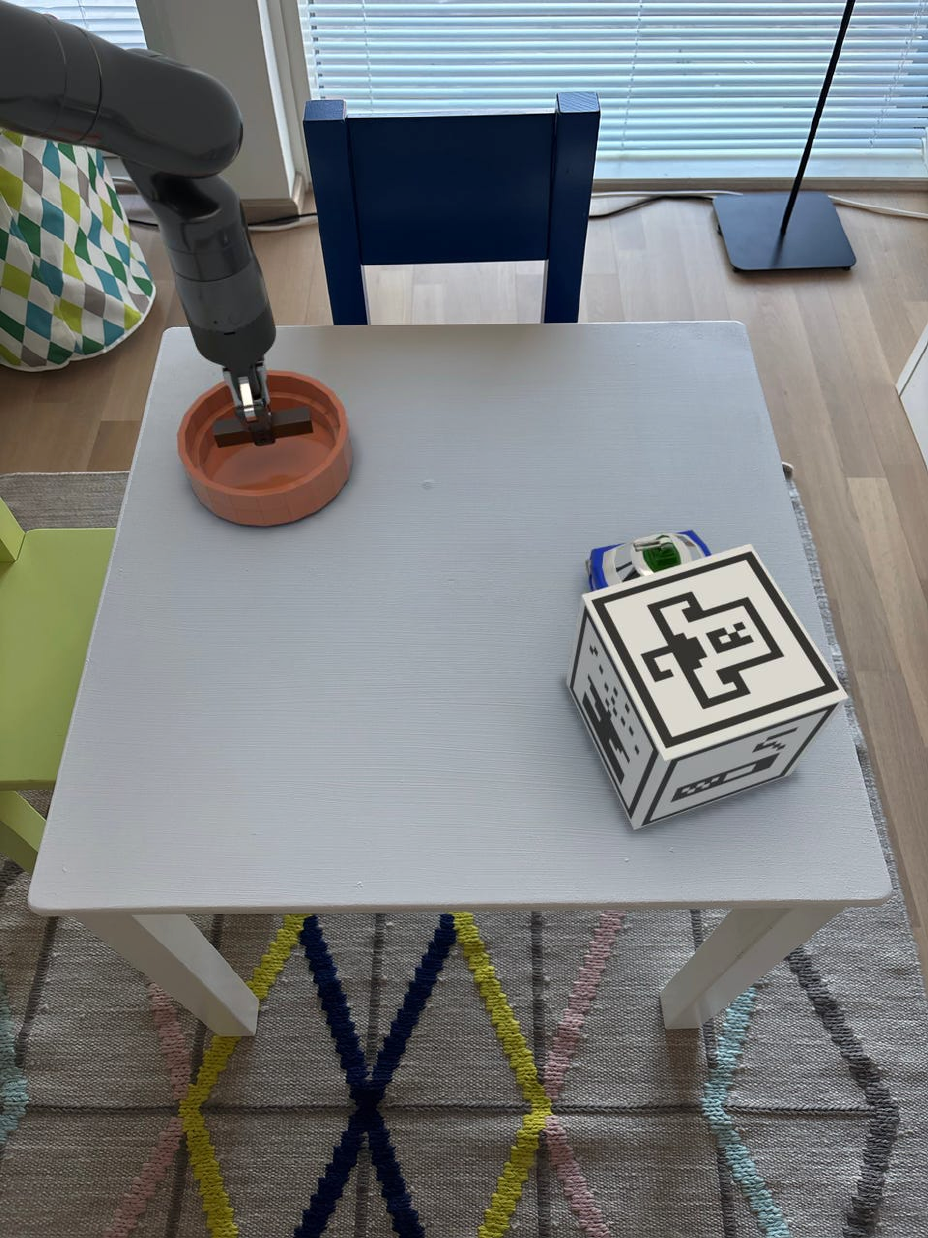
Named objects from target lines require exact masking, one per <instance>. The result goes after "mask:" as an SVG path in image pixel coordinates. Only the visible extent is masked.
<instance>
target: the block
mask: <svg viewBox="0 0 928 1238" xmlns="http://www.w3.org/2000/svg"><path fill="white" fill-rule="evenodd" d="M576 619H577V620H576V626H575V631H574V637H573V643H572V648H571V654H570V660H569V663H568V664H569V665H568V671H567V675H566V676H567V677H566V682H565V683H566V686H567V688H568V690H569V693H570V695H571V697H572V699H573V701H574V703H575V705H576V708H577V710H578V712H579V714H580V716H581V718H582V721H583V723H584V725H585V727H586V729H587V732H588V733H589V736H590V738H591V740H592V742H593V744H594V746H595V749H596V751H597V753H598V755H599V757H600V760H601V762H602V765H603V766H604V768H605V771H606V772H607V773H606V774H607V775H608V777H609V779H610V781H611V783H612V786H613V788H614V790H615V791H616V794H617V796H618V799H619V801H620V803H621V805H622V807H623V809H624V812H625V814H626V816H627V818H628V820H629V822H630V825H631V827H632V829H633V831H635V830H639V829H641V828H645V827H647V826H650V825H653V824H656V823H658V822H662V821H664V820H667V819H669V818H672V817H675V816H678V815H681V814H683V813H686V812H690V811H692V810H695V809H698V808H702V807H704V806H707V805H709V804H712V803H715V802H717V801H721V800H723V799H726V798H729V797H732V796H734V795H735V796H736V795H737V794H740V793H742V792H743V793H744V792H745V791H748V790H752V789H754V788H757V787H760V786H763V785H766V784H769V783H771V782H775V781H777V780H779V779H783V778H785V777H788V776H791V774H793V772H794V771H795V769H796V768H797V766H798V765H799V764H800V763H801V761H802V760H803V759H804V757H805V756H806V755H807V753H808V752H809V751H810V749H812V747H813V746H814V744H815V743H816V742H817V740H818V739H819V738H820V736H821V735H822V734H823V732H825V730H826V729H827V727H828V726H829V725H830V723H831V722H832V721H833V719H835V717H836V715H837V714H838V713H839V712H840V711H841V709H842V707H843V706H844V705H845V704H846V703H847V701H848V700H849V699H850V697H849V695H848V694H847V692H846V691H845V688H844V687H843V686H842V684H841V683H840V681H839V680H838V679H837V678H838V677H836V675H835V673H834V672H833V670H832V669H831V667H830V665H829V664H828V662H827V661H826V659H825V658H824V656H823V655H822V653H821V652H820V649H818V647H817V645H816V644H815V642H814V640H813V639H812V637H811V636H810V634H809V633H808V631H807V630H806V628H805V627H804V625H803V623H802V622H801V620H800V618H799V617H798V616H797V614H796V612H795V611H794V610H793V608H792V606H791V604H790V603H789V602H788V600H787V598H786V597H785V595H784V594H783V592H782V591H781V589H780V587H779V586H778V584H777V583H776V581H775V580H774V578H773V577H772V575H771V574H770V572H769V570H768V568H767V567H766V565H765V564H764V562H763V561H762V559H761V558H760V557H759V555H758V553H757V551H756V550H755V549H754V547H753V545H752V544H751V543H747V544H744V545H741V546H738V547H734V548H731V549H728V550H725V551H721V552H718V553H715V554H712V555H711V556H708V557H705V558H701V559H698V560H695V561H692V562H688V563H685V564H682V565H678V566H675V567H672V568H669V569H665V570H662V571H659V572H656V573H652V574H649V575H646V576H642V577H639V578H636V579H633V580H629V581H626V582H623V583H620V584H616V585H613V586H610V587H606V588H603V589H600V590H597V591H593V592H591V591H589V592H587V593H584V594H581V597H580V603H579V608H578V615H577V618H576Z"/></svg>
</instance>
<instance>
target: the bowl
mask: <svg viewBox="0 0 928 1238" xmlns="http://www.w3.org/2000/svg"><path fill="white" fill-rule="evenodd" d="M266 372H267V381H266V382H267V386H268V390H269V395H270V403H269V406H270V410H271V412H275V411H281V410H287V409H294V408H300V407H306V406H308V407H309V410H310V415H311V419H312V426H313V433H310V434H304V435H297V436H291V437H285V438H279V439H275V440H276V442H275V443H274V444H271V445H265V446H256V445H255V444H254V443H248V444H241V445H235V446H229V447H223V448H218V447H217V444H216V441H215V438H214V435H213V424H212V422H213V421H218V420H224V419H231V418H237V416H236V415H235V411H236V409H235V407H236V406H235V404H234V400H233V397H232V394H231V390H230V387H229V386H227V385H226V383H225V380H223V381H220V382H217V384H215V385H213V386H212V387H211V388H209V389H207V390H206V391H205V392H203V393H202V394H201V395H199V396H198V397H197V398H196V399H195V401H194V402H193V403H192V404H191V406H190V407H189V408H188V409H187V411H185V413H184V415H183V417H182V420H181V422H180V424H179V428H178V431H177V432H176V441H177V455H178V457H179V460H180V461H181V464H182V467H183V469H184V472H185V474H186V476H187V478H188V481H189V483H190V485H191V487H192V489H193V491H194V493H195V495H196V497H197V499H198V501H199V502H200V503H201V504H202V505H203V506H205V508H207V509H208V510H209V511H210V512H211V513H213V514H214V515H216V516H217V517H219V518H222V519H225V520H227V521H230V522H232V523H236V524H237V525H245V526H247V525H248V526H257V527H258V526H259V527H270V526H276V525H283V524H286V523H287V524H288V523H292V522H296V521H298V520H299V519H302V518H305V517H306V516H307V517H308V516H309V515H311V514H313V513H316V512H318V511H319V510H321V509H322V508H323V507H324V506H326V505H327V504H329V502H330V501H332V500H333V499H335V497H337V496H338V494H339V493H340V491H341V489H342V488H343V486H344V485H345V484H346V483H347V481H348V479H349V477H350V473H351V469H352V464H353V461H354V453H353V447H352V441H351V436H350V431H349V424H348V420H347V419H348V418H347V413H346V408H345V406H344V404H343V403H342V402H341V400H340V399H339V397H338V396H337V394H336V393H335V392H334V390H332V389H331V388H330V387H328V386H326V384H324V383H322V382H321V381H320V380H318V379H317V378H314V377H311V376H308V375H305V374H302V373H299V372H297V371H292V370H291V371H289V370H278V369H277V370H276V369H266Z"/></svg>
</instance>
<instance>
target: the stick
mask: <svg viewBox="0 0 928 1238" xmlns="http://www.w3.org/2000/svg"><path fill="white" fill-rule="evenodd" d="M270 413H271V417H270V420H271V423H272V427H273V431H274V434H275V439H279V438H285V437H291V436H297V435H304V434H310V433H313V426H312V419H311V415H310V410H309V407H308V406H306V407H300V408H294V409H287V410H281V411H275V412H270ZM212 424H213V435H214V438H215V441H216V444H217V447H218V448H223V447H229V446H235V445H241V444H248V443H254V441H253V438H252V435H251V432H249V433H246V432H245V430H244V429H243V427H242V425H241V424H240V422H239V420H238V418H231V419H224V420H218V421H213V422H212Z"/></svg>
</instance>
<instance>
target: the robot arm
mask: <svg viewBox="0 0 928 1238" xmlns="http://www.w3.org/2000/svg"><path fill="white" fill-rule="evenodd" d="M0 130H1V131H4V132H8V133H12V134H16V135H20V136H24V137H30V138H34V139H38V140H43V141H48V142H53V143H57V144H61V145H67V146H72V147H81V148H86V149H87V148H88V149H92V150H97V151H101V152H105V153H108V154H111V155H113V156H116V157H117V158H118V160H119V161H120V163H121V165H122V166H123V168H124V170H125V172H126V173H127V175H128V177H129V179H130V180H131V181H132V183H133V185H134V187H135V190H137V192H138V194H139V195H140V197H141V199H142V200H143V201H144V203H145V204H146V206H147V208H148V209H149V211H150V212H151V214H152V215H153V217H154V219H155V221H156V223H157V226H158V230H159V233H160V237H161V238H162V239H161V240H162V242H163V245H164V248H165V251H166V254H167V256H168V259H169V263H170V266H171V270H172V275H173V281H174V285H175V289H176V292H177V295H178V299H179V301H180V304H181V307H182V309H183V313H184V316H185V318H186V322H187V325H188V328H189V330H190V333H191V335H192V339H193V342H194V345H195V347H196V350H197V351H198V353H199V354H200V355H201V356H202V357H203V358H204V359H206V360H207V361H209V362H211V363H213V364H216V365H219V366H221V371H222V376H223V379H224V380H223V381H225V383H226V385H227V386H229V387H230V390H231V394H232V397H233V400H234V404H235V406H236V407H235V409H236V411H235V415H236V416H237V418H238V420H239V422H240V424H241V425H242V427H243V429H244V430H245V432H246V433H249V432H251V435H252V438H253V441H254V444H255V445H256V446H265V445H271V444H274V443H275V442H276V440H275V434H274V431H273V427H272V423H271V420H270V417H271V413H270V412H271V410H270V406H269V403H270V395H269V390H268V386H267V382H266V381H267V372H266V370H267V367H266V364H265V355H266V354H267V353H268V351H270V350H271V349H272V347H273V345H274V343H275V342H276V339H277V327H276V322H275V319H274V314H273V311H272V307H271V301H270V297H269V294H268V290H267V286H266V281H265V278H264V273H263V271H262V267H261V264H260V262H259V259H258V257H257V255H256V252H255V248H254V245H253V241H252V236H251V233H250V229H249V226H248V221H247V216H246V213H245V210H244V207H243V203H242V200H241V198H240V196H239V194H238V192H237V191H236V189H235V188H234V187H233V186H232V184H231V183H229V182H228V181H227V180H226V179H225V178H224V177H222V175H220V174H221V173H223V172H224V171H226V170H227V169H228V168H229V167H230V166H231V165H232V164H233V163H234V161H235V160H236V159H237V157H238V155H239V153H240V151H241V147H242V145H243V141H244V140H243V139H244V120H243V117H242V112H241V110H240V107H239V105H238V103H237V101H236V99H235V97H234V95H233V94H232V92H231V91H230V90H229V89H228V88H227V87H226V85H224V84H223V83H222V82H221V81H220V80H219V79H217V78H215V77H214V76H212V75H211V74H208V73H206V72H204V71H202V70H199V69H197V68H195V67H192V66H190V65H187V64H185V63H183V62H180V61H178V60H175V59H173V58H171V57H169V56H166V55H164V54H162V53H159V52H156V51H154V50H151V49H148V48H141V47H132V48H127V49H125V48H123V47H121V46H118V45H117V44H114V43H112V42H110V41H109V40H106V39H105V38H103V37H100V36H99V35H97V34H95V33H93V32H91V31H89V30H87V29H85V28H83V27H80V26H78V25H75V24H73V23H70V22H66V21H64V20H62V19H58V18H55V17H52V16H50V15H46V14H44V13H42V12H38V11H36V10H32V9H30V8H27V7H23V6H21V5H17V4H14V3H11V2H9V1H5V0H0Z"/></svg>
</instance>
